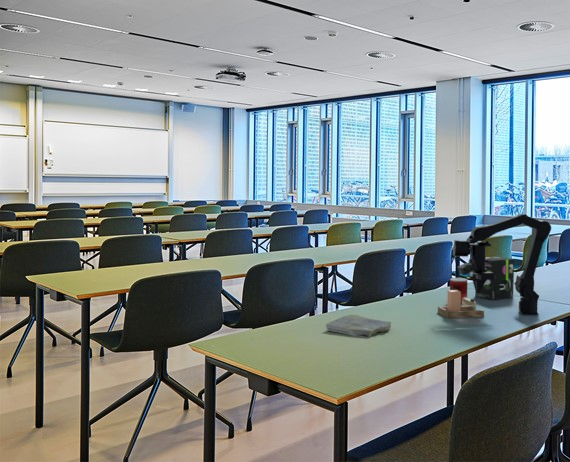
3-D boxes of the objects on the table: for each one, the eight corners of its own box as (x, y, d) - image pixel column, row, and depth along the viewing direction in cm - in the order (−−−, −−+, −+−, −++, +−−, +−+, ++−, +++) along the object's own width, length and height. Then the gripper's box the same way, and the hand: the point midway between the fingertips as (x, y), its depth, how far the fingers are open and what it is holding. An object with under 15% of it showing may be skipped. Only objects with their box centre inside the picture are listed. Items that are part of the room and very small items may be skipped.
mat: (474, 319, 242) (474, 317, 242) (486, 325, 232) (486, 323, 232) (451, 320, 240) (451, 318, 240) (462, 326, 230) (462, 324, 230)
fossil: (373, 342, 213) (394, 329, 227) (373, 330, 213) (394, 317, 226) (326, 336, 225) (348, 324, 239) (325, 324, 224) (348, 312, 238)
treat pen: (464, 306, 265) (464, 300, 265) (488, 318, 244) (488, 310, 243) (427, 308, 263) (427, 301, 263) (448, 319, 241) (448, 312, 241)
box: (491, 300, 278) (492, 260, 277) (474, 296, 289) (474, 257, 287) (514, 297, 284) (515, 258, 282) (496, 293, 295) (497, 255, 293)
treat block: (456, 313, 249) (456, 290, 249) (460, 315, 245) (460, 291, 245) (447, 314, 249) (447, 290, 248) (451, 316, 245) (451, 292, 244)
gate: (466, 305, 265) (466, 295, 264) (476, 310, 256) (476, 299, 255) (461, 305, 265) (462, 295, 264) (471, 310, 255) (471, 299, 255)
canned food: (465, 301, 277) (465, 277, 276) (468, 305, 269) (469, 280, 268) (448, 301, 278) (448, 277, 277) (451, 304, 270) (451, 280, 269)
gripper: (451, 254, 260) (450, 289, 262) (470, 260, 242) (469, 298, 243) (475, 253, 262) (474, 289, 263) (496, 259, 243) (495, 297, 245)
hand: (477, 293), depth 254 cm, fingers closed
